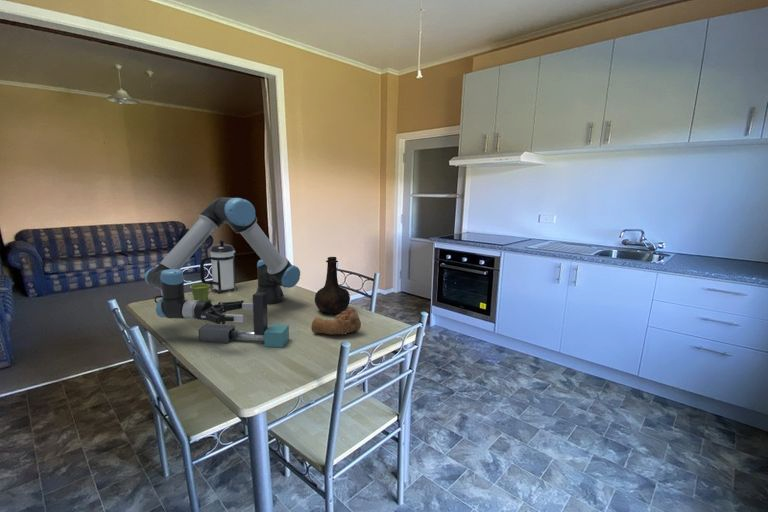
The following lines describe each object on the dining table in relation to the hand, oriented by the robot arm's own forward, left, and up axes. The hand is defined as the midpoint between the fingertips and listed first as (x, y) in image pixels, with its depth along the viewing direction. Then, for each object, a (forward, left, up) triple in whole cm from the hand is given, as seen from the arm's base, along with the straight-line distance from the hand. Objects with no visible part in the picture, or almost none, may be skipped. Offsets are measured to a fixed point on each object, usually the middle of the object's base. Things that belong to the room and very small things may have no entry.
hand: (250, 312), depth 136 cm
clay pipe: (-32, +13, -12) cm, 37 cm away
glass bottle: (-45, -11, -12) cm, 48 cm away
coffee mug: (+18, -55, -12) cm, 59 cm away
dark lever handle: (0, 0, -11) cm, 11 cm away
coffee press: (-12, -78, -12) cm, 80 cm away
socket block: (-7, +7, -12) cm, 16 cm away
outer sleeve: (+10, -10, -12) cm, 19 cm away
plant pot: (+3, -64, -12) cm, 65 cm away
